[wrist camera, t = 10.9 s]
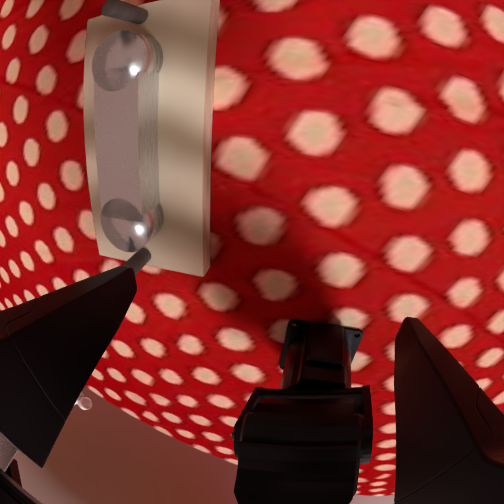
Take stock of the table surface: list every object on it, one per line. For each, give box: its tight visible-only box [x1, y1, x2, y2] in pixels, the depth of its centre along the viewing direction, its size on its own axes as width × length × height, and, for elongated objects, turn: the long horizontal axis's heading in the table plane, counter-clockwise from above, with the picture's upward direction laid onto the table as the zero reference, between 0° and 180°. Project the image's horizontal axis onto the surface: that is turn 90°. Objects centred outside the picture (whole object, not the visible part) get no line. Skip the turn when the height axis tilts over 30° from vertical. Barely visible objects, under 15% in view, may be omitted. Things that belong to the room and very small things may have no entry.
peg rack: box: [84, 0, 220, 277], centre depth 18 cm, size 20×10×5 cm, turn 176°
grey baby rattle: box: [92, 30, 164, 252], centre depth 17 cm, size 15×4×2 cm, turn 176°
